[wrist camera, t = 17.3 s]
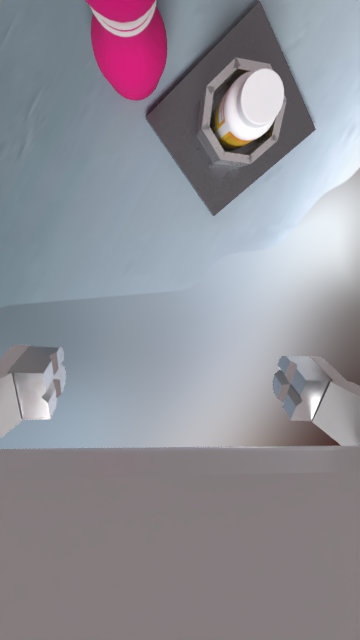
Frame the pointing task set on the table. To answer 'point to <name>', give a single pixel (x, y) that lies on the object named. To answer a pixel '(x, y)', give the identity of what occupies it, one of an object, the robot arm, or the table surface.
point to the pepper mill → (129, 44)
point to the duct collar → (201, 101)
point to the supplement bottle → (248, 108)
